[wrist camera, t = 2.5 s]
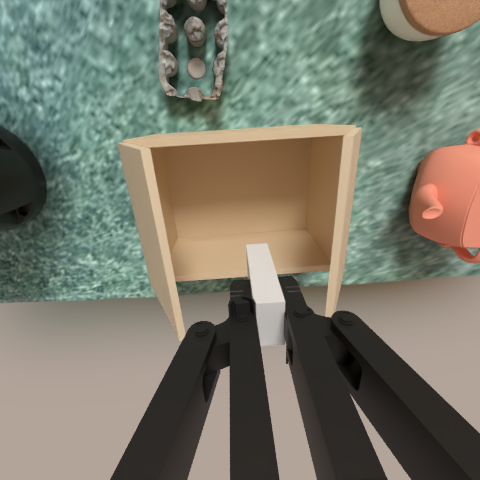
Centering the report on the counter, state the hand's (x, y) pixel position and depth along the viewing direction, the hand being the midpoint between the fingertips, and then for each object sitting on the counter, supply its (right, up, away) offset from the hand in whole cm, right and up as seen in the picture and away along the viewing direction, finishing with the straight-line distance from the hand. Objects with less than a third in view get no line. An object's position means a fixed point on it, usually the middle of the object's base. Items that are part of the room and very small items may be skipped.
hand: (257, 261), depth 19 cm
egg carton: (-7, +25, +14) cm, 29 cm away
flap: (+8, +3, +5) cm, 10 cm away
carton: (-1, +9, +20) cm, 22 cm away
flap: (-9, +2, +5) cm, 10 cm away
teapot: (+30, +10, +22) cm, 38 cm away
